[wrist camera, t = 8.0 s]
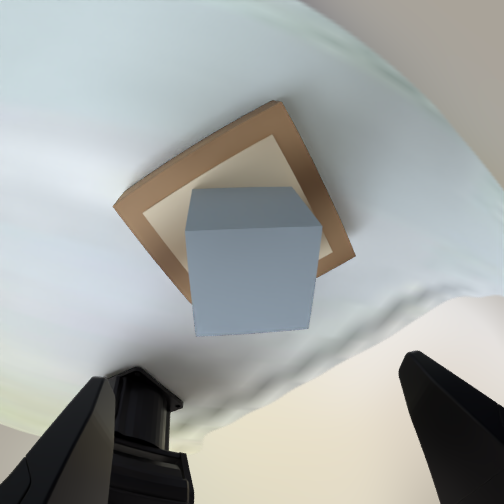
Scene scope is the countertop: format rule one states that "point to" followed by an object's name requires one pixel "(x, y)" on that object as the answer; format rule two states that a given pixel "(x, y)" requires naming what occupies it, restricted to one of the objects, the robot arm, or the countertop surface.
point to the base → (230, 176)
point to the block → (251, 260)
